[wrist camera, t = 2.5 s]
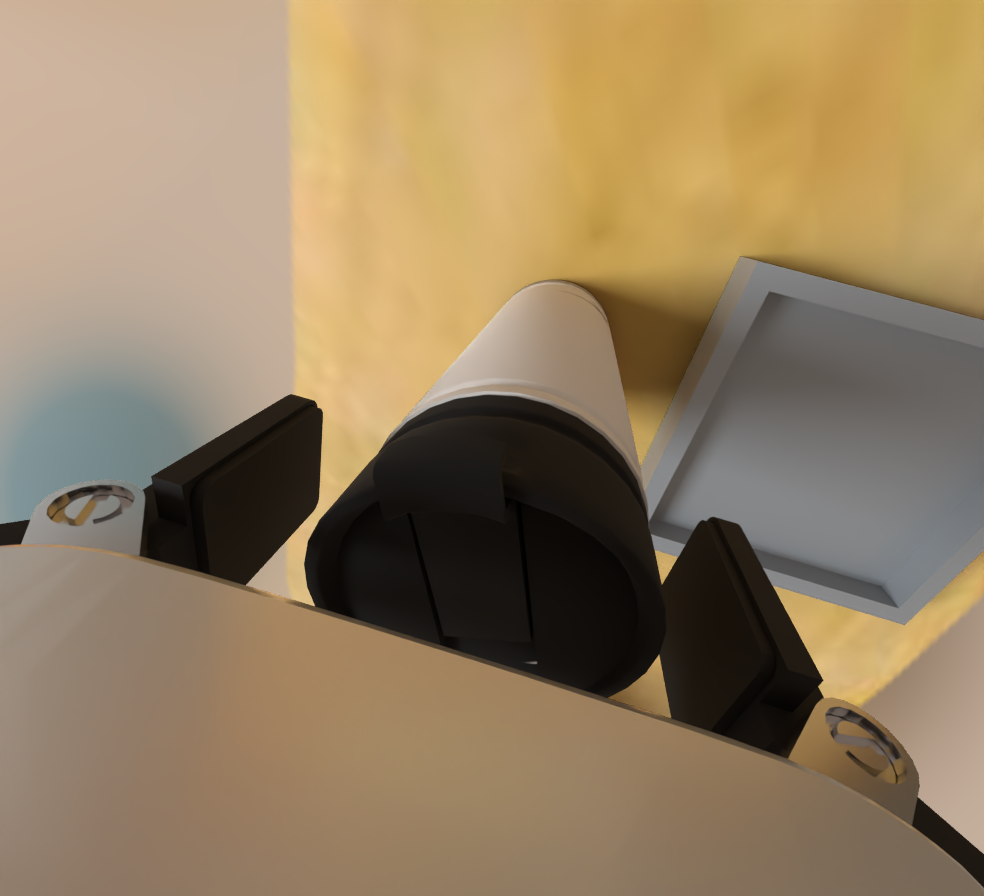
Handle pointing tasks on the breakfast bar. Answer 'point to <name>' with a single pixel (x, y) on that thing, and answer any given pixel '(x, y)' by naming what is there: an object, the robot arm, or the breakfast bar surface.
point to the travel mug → (509, 508)
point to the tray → (829, 439)
